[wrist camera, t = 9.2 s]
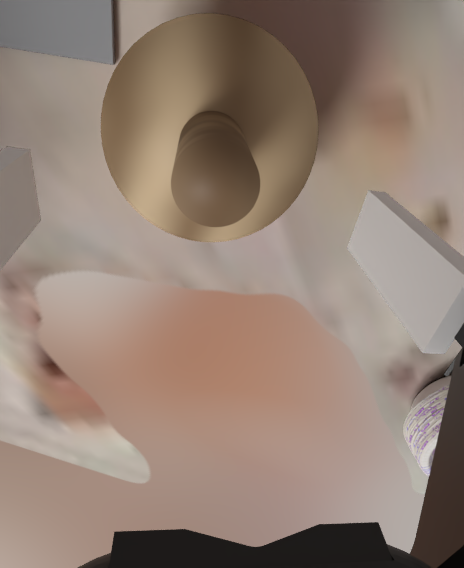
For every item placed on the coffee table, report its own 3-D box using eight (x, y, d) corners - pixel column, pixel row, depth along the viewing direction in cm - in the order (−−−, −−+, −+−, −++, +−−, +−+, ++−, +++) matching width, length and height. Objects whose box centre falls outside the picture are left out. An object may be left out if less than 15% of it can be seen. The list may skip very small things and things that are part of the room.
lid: (109, 225, 25) (77, 292, 19) (98, -9, 18) (41, -33, 12) (287, 243, 27) (314, 310, 21) (341, 37, 20) (409, 38, 14)
